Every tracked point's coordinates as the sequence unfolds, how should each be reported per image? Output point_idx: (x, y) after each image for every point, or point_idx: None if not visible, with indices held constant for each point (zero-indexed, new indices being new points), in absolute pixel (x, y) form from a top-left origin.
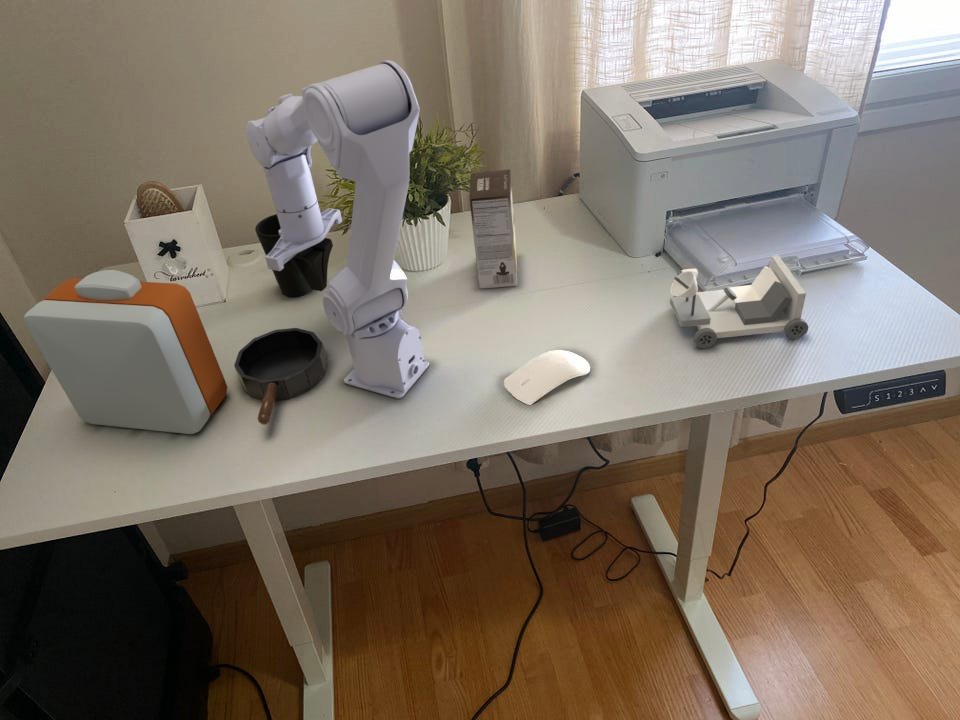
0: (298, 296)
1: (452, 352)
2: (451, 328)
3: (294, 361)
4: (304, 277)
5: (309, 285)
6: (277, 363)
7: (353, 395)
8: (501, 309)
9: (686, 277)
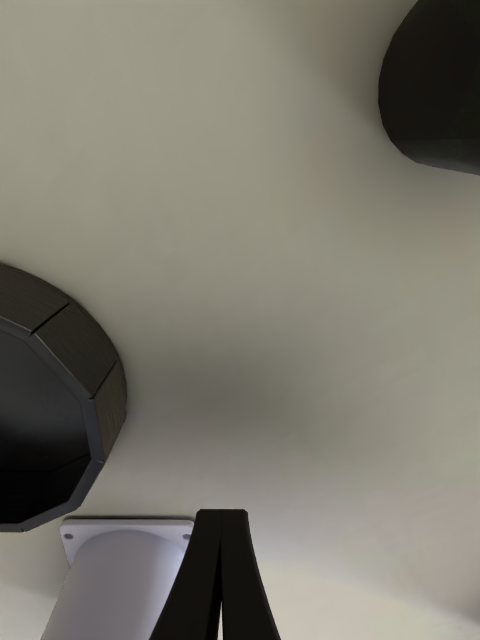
0: (388, 135)
1: None
2: (327, 595)
3: (43, 389)
4: (172, 588)
5: (193, 530)
6: (4, 350)
7: (47, 545)
8: (412, 634)
9: None
